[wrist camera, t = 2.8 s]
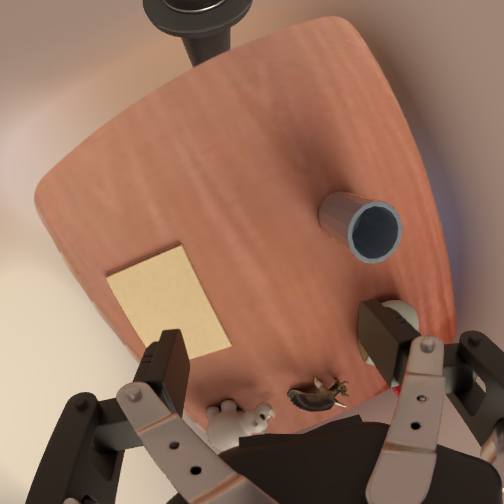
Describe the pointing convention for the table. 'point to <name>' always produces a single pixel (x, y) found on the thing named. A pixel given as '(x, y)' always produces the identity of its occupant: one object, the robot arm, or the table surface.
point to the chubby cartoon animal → (235, 423)
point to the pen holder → (361, 225)
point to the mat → (169, 302)
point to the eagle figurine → (318, 397)
